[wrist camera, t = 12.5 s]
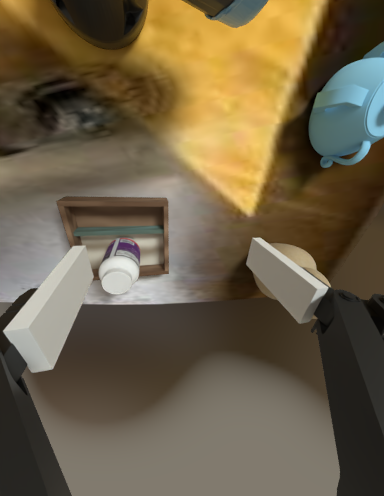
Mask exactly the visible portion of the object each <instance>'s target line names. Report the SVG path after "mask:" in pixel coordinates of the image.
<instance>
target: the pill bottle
mask: <svg viewBox="0 0 384 496" xmlns="http://www.w3.org/2000/svg"><path fill="white" fill-rule="evenodd" d="M140 253H141V251H140V247H139V245H138V243H137V242H136V241H135V240H133V239H131V238H128V237H119V238H116V239H114V240H113V241H112V242H111V243H110V244H109V246H108V248H107V251H106V253H105V256H104V258H103V260H102V263H101V265H100V267H99V272H98V273H99V278H100V280H101V281H102V282H101V284H102V287H103V289H104V290H105V291H106V292H108V293H111V294H123V293H125V292H127V291H128V290H129V289H130V288H131V286H132V285H133V284H134V283H135V282H136V281H137V279H138V277H139V268H140Z"/></svg>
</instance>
